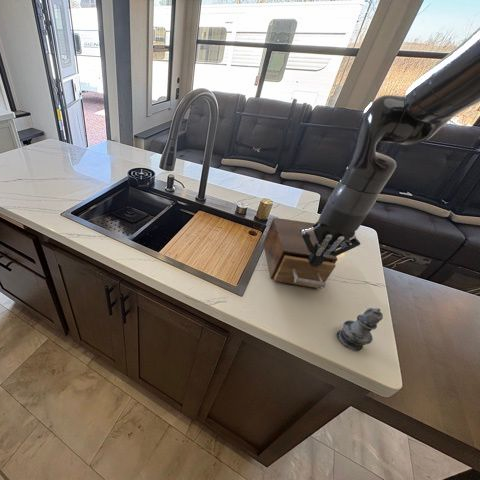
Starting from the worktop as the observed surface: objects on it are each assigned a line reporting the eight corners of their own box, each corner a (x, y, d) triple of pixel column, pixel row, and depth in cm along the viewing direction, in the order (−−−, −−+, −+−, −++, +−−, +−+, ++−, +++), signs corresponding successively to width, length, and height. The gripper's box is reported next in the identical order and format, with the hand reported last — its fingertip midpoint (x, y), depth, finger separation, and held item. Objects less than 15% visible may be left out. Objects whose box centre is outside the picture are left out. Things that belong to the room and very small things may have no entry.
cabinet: (319, 286, 72) (337, 259, 65) (270, 278, 74) (283, 250, 67) (304, 249, 85) (318, 223, 78) (263, 243, 87) (273, 217, 80)
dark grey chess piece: (363, 357, 56) (398, 326, 49) (334, 342, 58) (362, 311, 51) (364, 337, 60) (396, 305, 52) (336, 324, 62) (363, 292, 55)
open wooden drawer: (326, 302, 66) (343, 279, 61) (277, 294, 68) (289, 270, 62) (306, 252, 82) (318, 231, 77) (266, 246, 84) (275, 224, 78)
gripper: (320, 209, 51) (288, 270, 62) (391, 219, 49) (346, 279, 60) (310, 192, 57) (283, 250, 68) (374, 200, 55) (335, 258, 66)
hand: (313, 264), depth 64 cm, fingers closed
